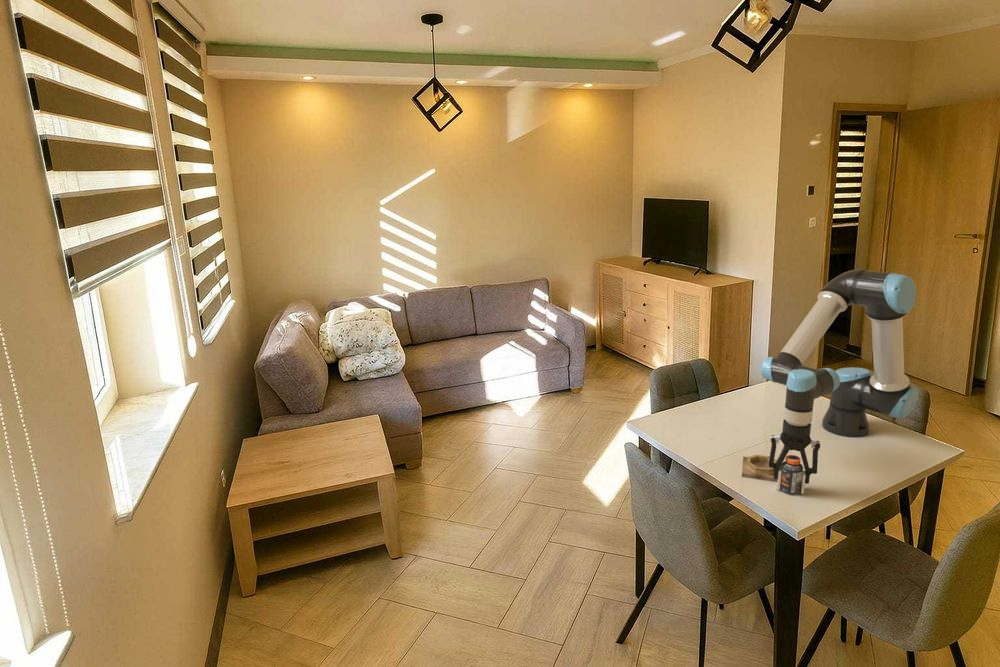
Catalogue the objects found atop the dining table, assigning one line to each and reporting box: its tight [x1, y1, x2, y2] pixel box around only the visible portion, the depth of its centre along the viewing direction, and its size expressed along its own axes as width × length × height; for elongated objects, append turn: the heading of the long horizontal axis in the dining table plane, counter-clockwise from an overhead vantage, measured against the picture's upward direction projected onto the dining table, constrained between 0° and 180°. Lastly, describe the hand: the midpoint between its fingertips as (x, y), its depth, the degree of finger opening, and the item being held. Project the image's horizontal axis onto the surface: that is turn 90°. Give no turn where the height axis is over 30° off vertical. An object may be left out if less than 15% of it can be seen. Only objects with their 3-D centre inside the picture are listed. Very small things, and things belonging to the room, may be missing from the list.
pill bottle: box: [779, 454, 804, 496], centre depth 186 cm, size 6×6×11 cm
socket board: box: [741, 454, 782, 483], centre depth 199 cm, size 12×12×3 cm
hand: (790, 489), depth 187 cm, fingers closed on pill bottle, 6 cm apart
